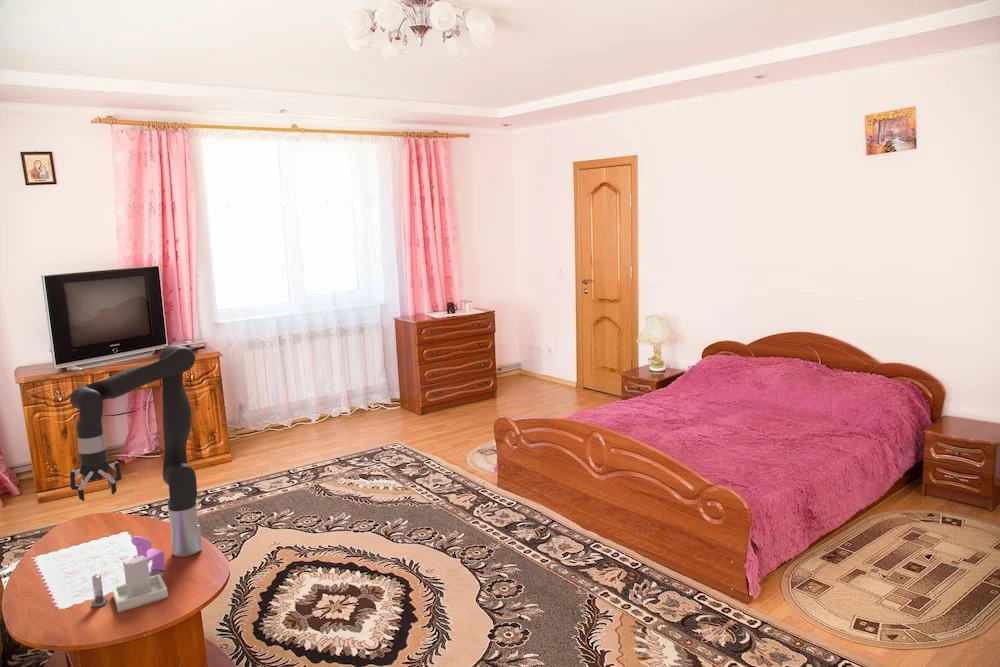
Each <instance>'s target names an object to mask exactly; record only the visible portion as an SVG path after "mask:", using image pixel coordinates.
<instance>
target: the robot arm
mask: <svg viewBox="0 0 1000 667" xmlns="http://www.w3.org/2000/svg"><path fill="white" fill-rule="evenodd" d="M158 357H159V359H158V360H157V361H154V362H151V363H147V364H145V365H141V366H137V367H134V368H130V369H129V368H128V369H126V370H124V371H120V372H117V373H116V374H114V375H112V376H109V377H108V378H107V377H106V378H104V379H102V380H99V381H95V382H92V383H88V384H86V385H82V386H80V387H78V388H76V389H75V390H73V392H72V393H71V394H70V396H69V402H70V404H71V405H72V407H74V408H76V409H78V410H79V419H78V420H77V421H76V433H77V449H78V455H79V462H80V464H79V466H80V468H79V469H75V470H74V469H70V470H69V483H70V489H71V490H72V491H77V494H78V498H79V500H81V501H82V502H85V501H86V500H85V492H84V487H85V486H86V484H88V482H89V481H91V482H93V481H96V480H102V479H103V478H105V479H106V480H107V481H109V484H110V492H111V495H116V493H117V482H118V481H121V480H122V479H123V478H122V472H121V468H120V467H121V466H120V464H119V461H117V460H115V461H114V462H110V463H108V456H107V455H108V453H107V445H106V440H105V437H104V436H105V435H104V428H103V422H102V420H103V411H104V401H105V400H111V399H112V400H113V399H117V398H119V397H121V396H123V395H126V394H129V393H130V392H133V391H134V390H137V389H138V388H141V387H145V386H146V385H148V384H151V383H153V382H156V381H159V380H161V385H162V386H161V390H162V392H161V394H162V396H161V398H162V430H163V432H162V433H163V444H164V446H163V447H164V454H163V455H164V456H163V465H162V479H163V481H164V483H165V484H166V485H167V486H168V493H169V494H168V495H169V499H168V500H167V509H168V519H169V526H170V536H171V549H172V554H173V556H174V557H177V558H178V557H179V558H184V557H189V556H193V555H195V554H197V553H199V552H200V551H203V544H202V543H203V542H202V533H201V525H200V524H199V517H198V507H197V497H198V485H197V475H196V472H195V470H194V468H192V466H190V465H189V463H188V457H187V456H188V454H187V444H188V439H189V436H190V433H191V430H192V429H191V428H192V407H191V406H192V405H191V403H190V399H189V397H188V394H187V392H186V389H185V384H184V375H183V374H184V373H186V372H187V371H189V370H191V369H192V368H193V366H194V365H195V363H196V355H195V353H194V351H193V350H191V349H190V348H188V347H186V346H183V345H179V344H178V345H176V344H169V345H165V346H164V347H163V348H162V349H161V351H160V353H159V356H158ZM110 468H112V470H115V475H116V476H112V475H111V474H110V473H109V472H108V471H109V470H110ZM79 474H80V475H81V476H82V477H81V479H80V481H79V483H77V484H76V478H78V475H79Z"/></svg>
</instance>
